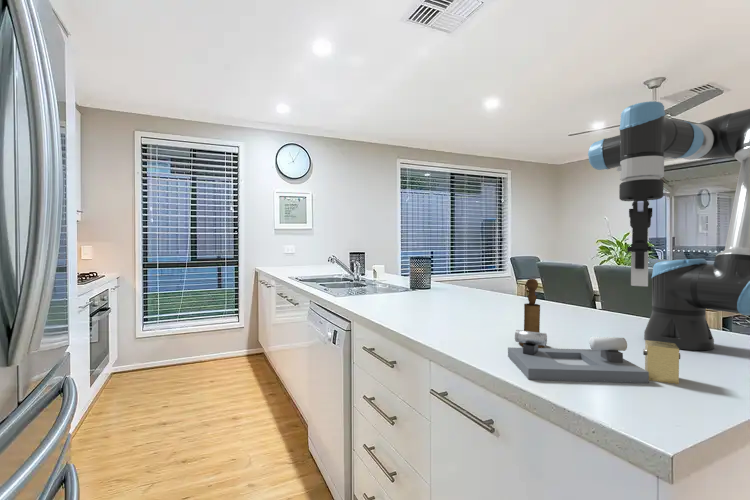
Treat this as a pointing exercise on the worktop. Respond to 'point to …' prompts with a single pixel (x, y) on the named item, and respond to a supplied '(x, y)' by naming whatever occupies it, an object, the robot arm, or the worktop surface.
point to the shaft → (530, 340)
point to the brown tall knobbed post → (532, 310)
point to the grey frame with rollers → (581, 363)
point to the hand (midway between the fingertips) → (639, 283)
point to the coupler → (662, 361)
